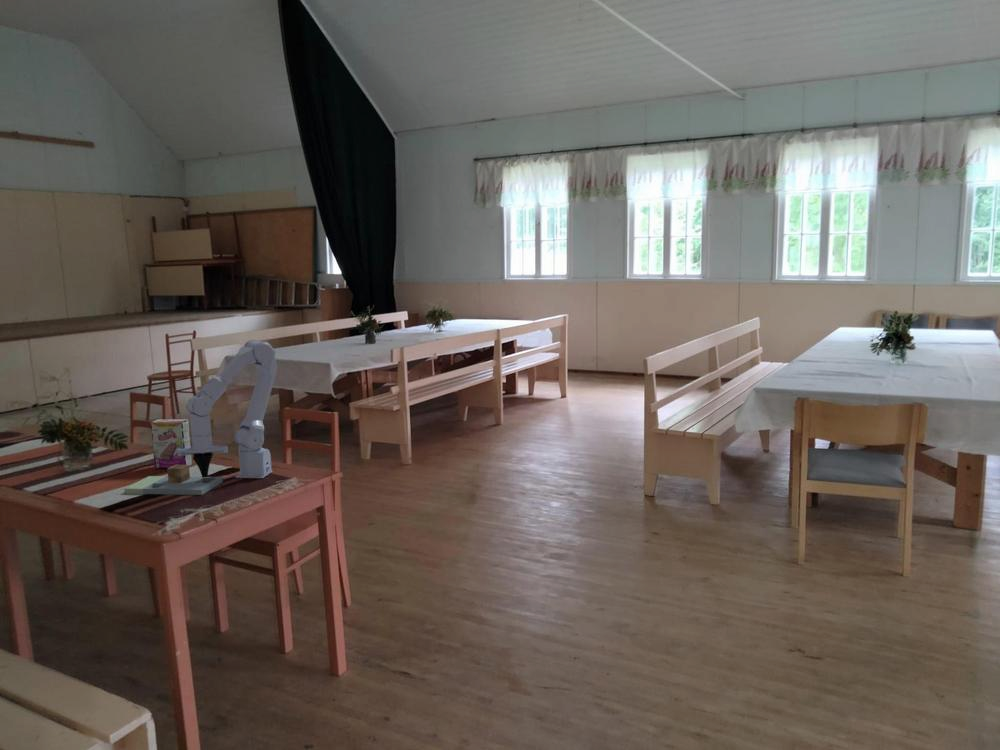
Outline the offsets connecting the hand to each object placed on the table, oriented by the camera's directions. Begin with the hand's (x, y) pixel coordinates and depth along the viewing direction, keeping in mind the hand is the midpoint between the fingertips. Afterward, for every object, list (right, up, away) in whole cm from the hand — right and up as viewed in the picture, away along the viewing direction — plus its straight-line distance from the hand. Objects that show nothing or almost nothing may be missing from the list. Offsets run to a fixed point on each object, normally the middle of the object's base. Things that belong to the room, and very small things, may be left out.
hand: (205, 476), depth 233 cm
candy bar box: (-19, 0, +22) cm, 29 cm away
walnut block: (-8, -1, 0) cm, 8 cm away
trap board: (-9, -3, -2) cm, 10 cm away
